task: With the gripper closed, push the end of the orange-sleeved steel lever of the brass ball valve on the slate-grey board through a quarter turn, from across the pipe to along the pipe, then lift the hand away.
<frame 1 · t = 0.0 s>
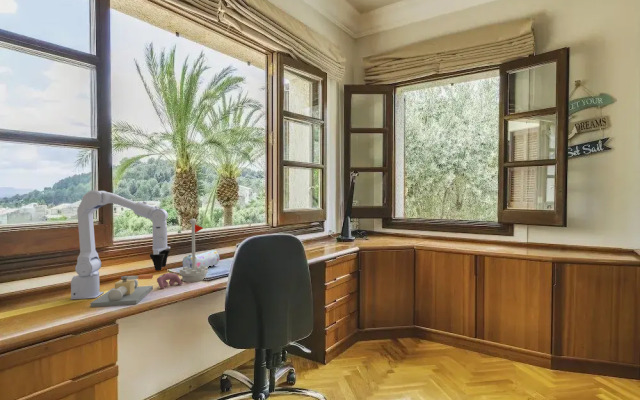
hand: (160, 268, 152), 10 cm above the table, tool pointing down, fingers open, 7 cm apart
valve board: (125, 296, 146), on the table
valve lever: (136, 277, 147), point 8 cm above the table, hinge at 0.0°
pink animal figurine: (169, 286, 163), on the table
pencil case: (201, 269, 200), on the table
flag stand: (194, 279, 176), on the table
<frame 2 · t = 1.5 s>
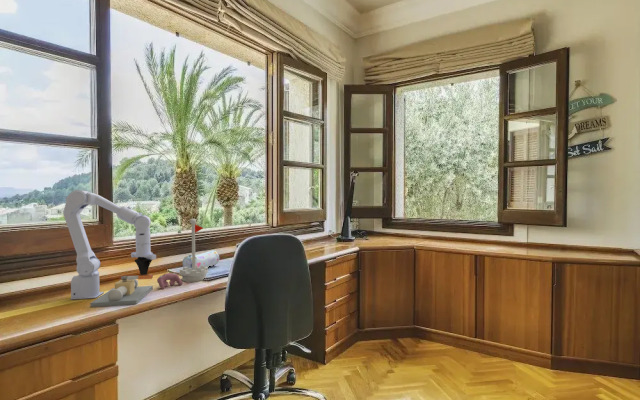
hand: (143, 274, 154), 7 cm above the table, tool pointing down, fingers closed
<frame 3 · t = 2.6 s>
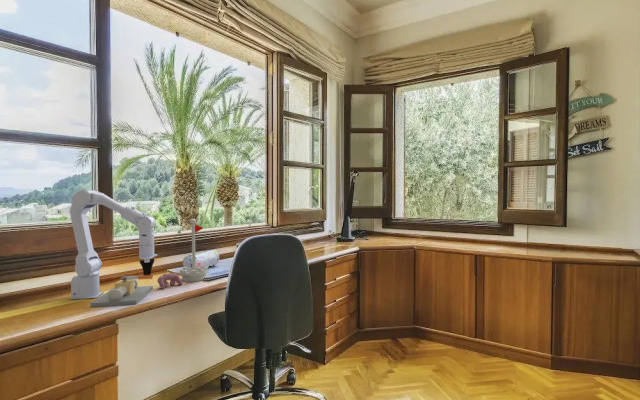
hand: (147, 276, 150), 7 cm above the table, tool pointing down, fingers closed, pressing on valve lever
valve lever: (136, 277, 147), point 8 cm above the table, hinge at 0.0°, touching gripper
everything else where it was.
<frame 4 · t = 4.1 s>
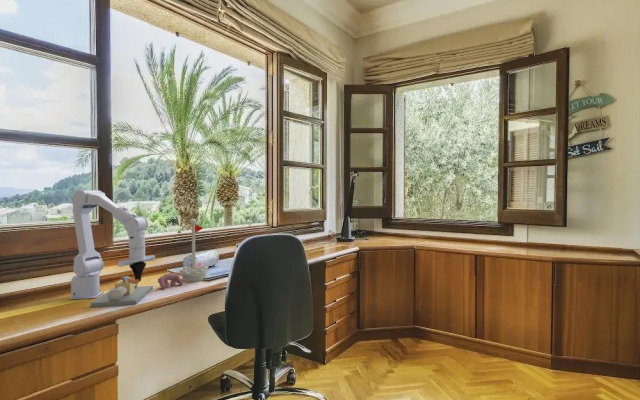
hand: (138, 281, 142), 7 cm above the table, tool pointing down, fingers closed, pressing on valve lever
valve lever: (129, 279, 143), point 8 cm above the table, hinge at 49.8°, touching gripper
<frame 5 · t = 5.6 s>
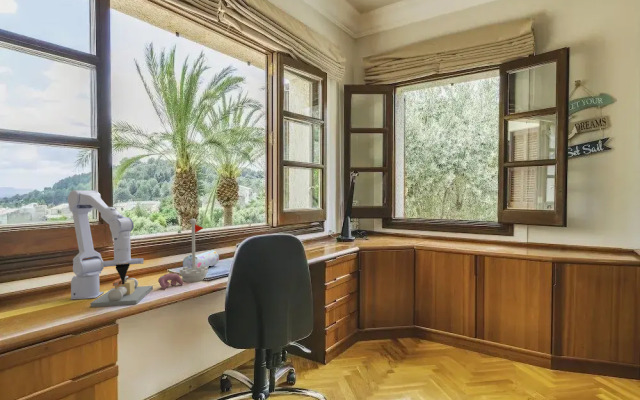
hand: (123, 283, 139), 7 cm above the table, tool pointing down, fingers closed
valve lever: (121, 280, 142), point 8 cm above the table, hinge at 88.0°, touching gripper
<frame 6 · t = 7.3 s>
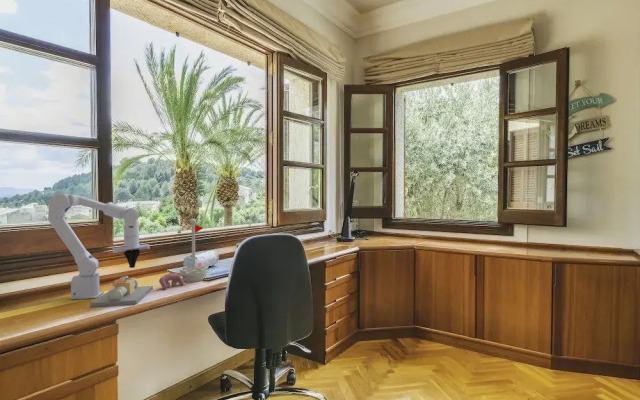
hand: (132, 267, 154), 10 cm above the table, tool pointing down, fingers closed
valve lever: (120, 280, 142), point 8 cm above the table, hinge at 88.1°
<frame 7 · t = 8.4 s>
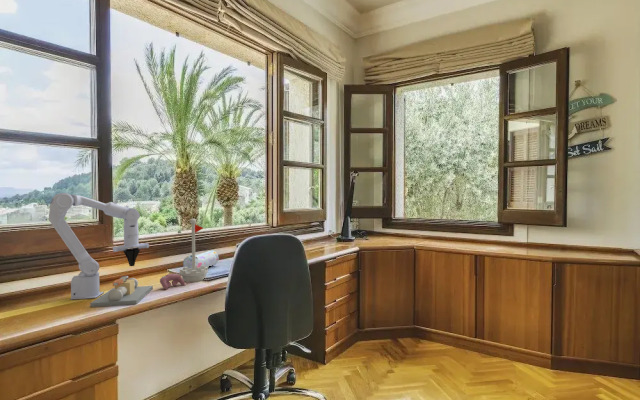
hand: (131, 265, 158), 10 cm above the table, tool pointing down, fingers closed
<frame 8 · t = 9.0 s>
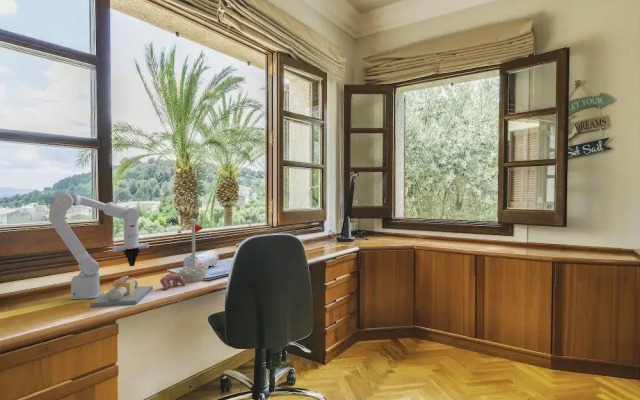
hand: (131, 265, 158), 10 cm above the table, tool pointing down, fingers closed
at the end: valve lever at +88° (first picture: +0°); pink animal figurine moved 2.7 cm from its start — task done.
